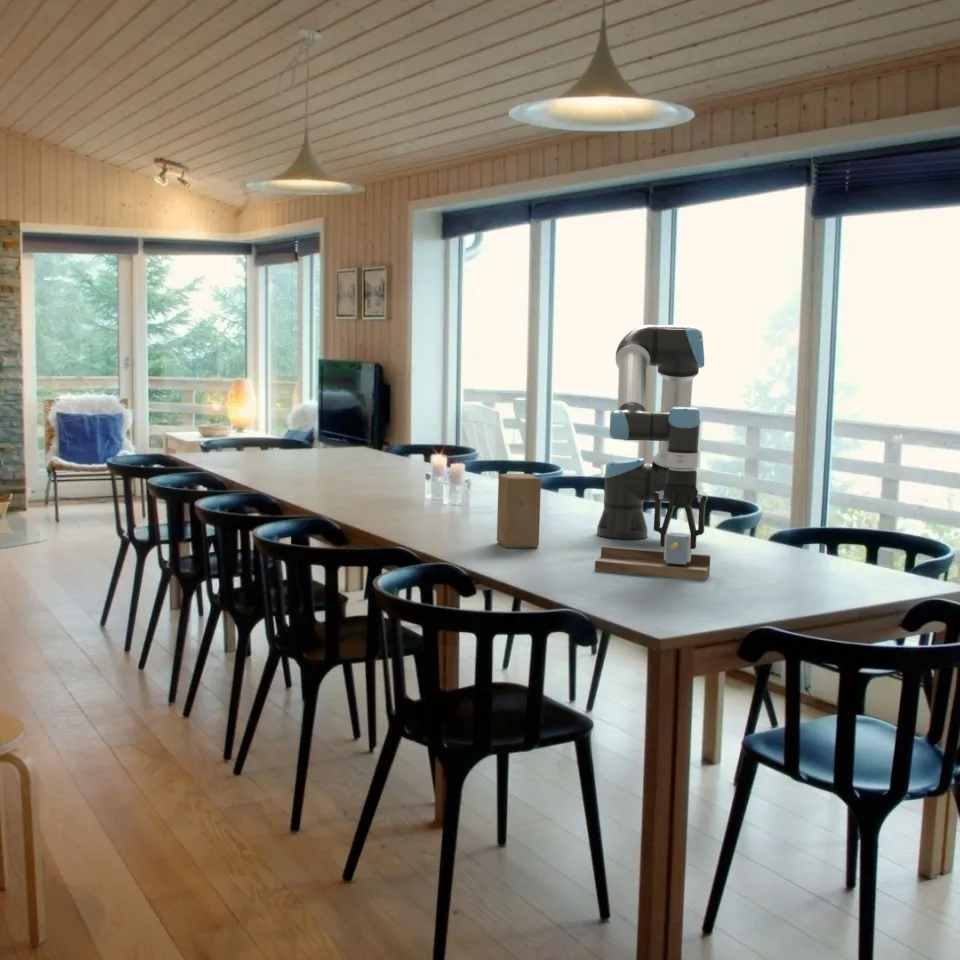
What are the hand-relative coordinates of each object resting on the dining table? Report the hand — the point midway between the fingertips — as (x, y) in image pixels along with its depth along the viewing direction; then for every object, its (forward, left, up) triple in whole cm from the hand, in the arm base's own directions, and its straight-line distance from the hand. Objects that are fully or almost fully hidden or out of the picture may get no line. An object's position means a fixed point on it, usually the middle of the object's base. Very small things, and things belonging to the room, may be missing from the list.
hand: (677, 560), depth 288 cm
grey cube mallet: (+3, 0, 0) cm, 3 cm away
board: (0, -6, -4) cm, 7 cm away
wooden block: (-21, -48, -4) cm, 53 cm away
